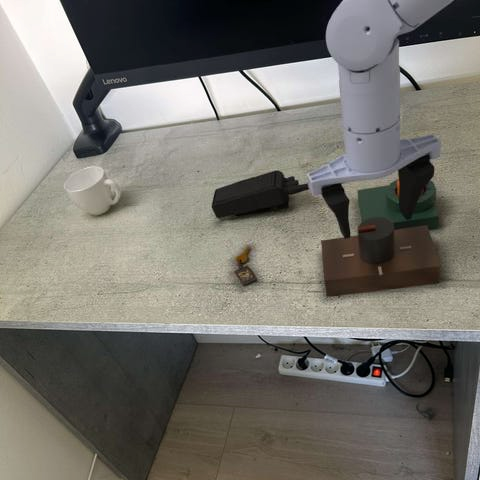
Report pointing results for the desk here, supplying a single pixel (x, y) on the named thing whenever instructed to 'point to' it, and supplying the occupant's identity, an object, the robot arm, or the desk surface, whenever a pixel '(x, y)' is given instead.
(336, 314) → the desk surface
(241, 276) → the key tag
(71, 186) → the cup
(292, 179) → the walkie-talkie
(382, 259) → the knob
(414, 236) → the lock panel
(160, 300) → the desk surface
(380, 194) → the button block
